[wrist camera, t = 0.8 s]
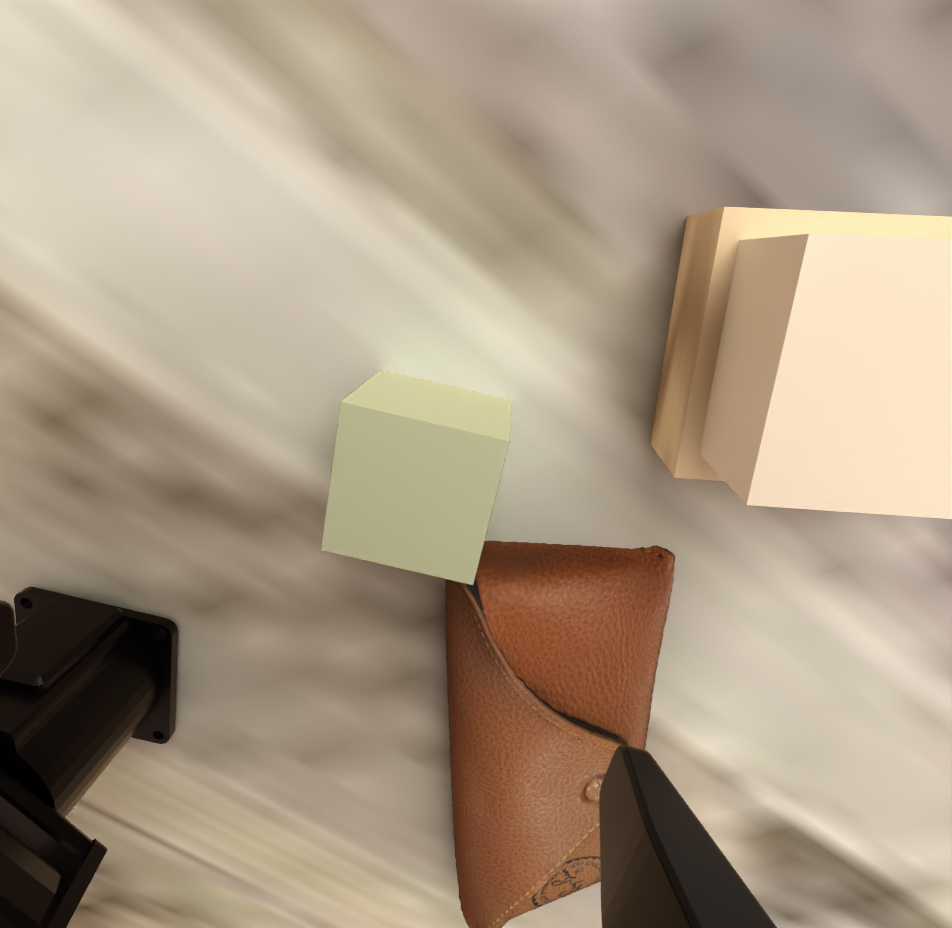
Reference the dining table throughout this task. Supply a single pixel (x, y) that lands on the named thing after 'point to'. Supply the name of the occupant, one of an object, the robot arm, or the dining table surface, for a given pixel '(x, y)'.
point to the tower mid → (836, 376)
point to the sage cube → (416, 475)
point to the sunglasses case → (544, 711)
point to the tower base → (706, 303)
